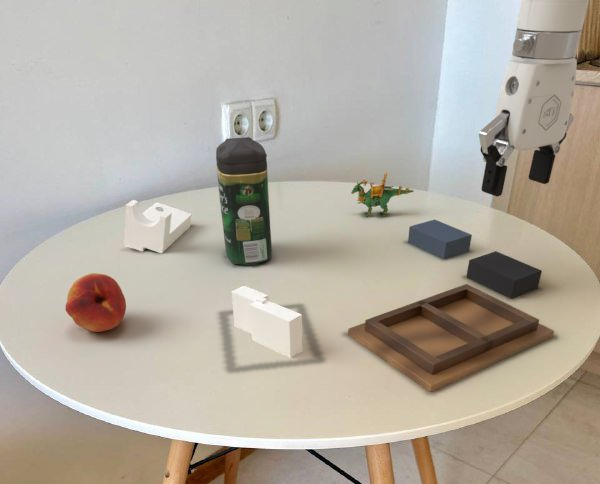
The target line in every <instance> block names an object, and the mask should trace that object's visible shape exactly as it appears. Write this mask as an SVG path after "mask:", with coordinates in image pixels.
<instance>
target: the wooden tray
mask: <svg viewBox="0 0 600 484" xmlns="http://www.w3.org/2000/svg"><path fill="white" fill-rule="evenodd" d="M347 330H348V331H347V335H348V336H349V337H350V338H352V339H353V340H355V341H356V342H357V343H359V344H361V345H362V346H363V347H365V348H366V349H367V350H369V351H371V353H374V355H376V356H378V357H379V358H381V359H382V360H383V361H385V362H387V363H388V364H389V365H391V366H392V367H394V368H395V369H396V370H398V371H399V372H401V373H402V374H404V375H405V376H406V377H408V378H409V379H410V380H412V381H413V382H415V383H416V384H418V385H419V386H421V387H422V388H423V389H425V390H426V391H428V392H429V393H432V392H434V391H436V390H439V389H441V388H443V387H446V386H447V385H450V384H452V383H454V382H456V381H459V380H461V379H464V378H466V377H468V376H470V375H473V374H475V373H477V372H478V371H481V370H483V369H485V368H488V367H490V366H492V365H494V364H496V363H499V362H500V361H504V360H506V359H508V358H510V357H512V356H514V355H516V354H518V353H521V352H523V351H525V350H527V349H530V348H532V347H534V346H536V345H539V344H541V343H543V342H545V341H548V340H549V339H552V338H553V337H554V334H555V330H553V329H551V328H549V327H547V326H546V325H543V324H541V323H540V319H539V318H537V317H534V316H533V315H531V314H529V313H527V312H525V311H522V310H520V309H518V308H517V307H514V305H513V306H512V305H510V304H508V303H507V302H504V301H503V300H500V299H498V298H497V297H495V296H492V295H490V294H488V293H486V292H484V291H482V290H480V289H477V288H476V287H474V286H472V285H470V284H468V283H465V284H463V285H459V286H456V287H454V288H451V289H448V290H446V291H443V292H439V293H437V294H434V295H431V296H428V297H426V298H423V299H420V300H418V301H417V300H416V301H415V302H412V303H409V304H406V305H403V306H401V307H398V308H395V309H392V310H389V311H386V312H383V313H381V314H379V315H378V314H377V315H376V316H372V317H370V318H367V319H365V321H364V322H363V323H361V324H358V325H355V326H352V327H349V328H348V329H347Z"/></svg>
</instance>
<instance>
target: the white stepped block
mask: <svg viewBox="0 0 600 484" xmlns="http://www.w3.org/2000/svg"><path fill="white" fill-rule="evenodd" d="M230 294H231V303H232V314H233V325H234V327H235V328H238V329H240V330H242V331H244V332H246V333H249V334H251V341H252V342H254V343H256V344H259V345H261V346H262V347H265V348H268V349H270V350H272V351H274V352H276V353H278V354H280V355H282V356H285V357H287V358H288V359H291V358H294V357H295V356H297V355H298V354H299V353H301V352H303V315H302V313H300V312H297V311H294V310H292V309H289V308H287V307H285V306H282V305H280V304H277V303H275V302H273V301H270V300H269V295H268V294H267V293H263V292H261V291H259V290H256V289H253V288H252V287H249V286H246V285H242V286H240V287H238V288H236V289H233V290H231V293H230Z"/></svg>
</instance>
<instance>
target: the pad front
mask: <svg viewBox="0 0 600 484" xmlns="http://www.w3.org/2000/svg"><path fill="white" fill-rule="evenodd" d="M472 237H473V235H472V234H471V233H469V232H466V231H465V230H461V229H459V228H456V227H454V226H452V225H449V224H447V223H444V222H442V221H440V220H437V219H431V220H427V221H424V222H421V223H417V224H413V225H410V226H409V227H408V238H407V243H408V244H410V245H412V246H414V247H417V248H418V249H421V250H422V251H424V252H427V253H429V254H431V255H433V256H435V257H438V258H440V259H441V260H447V259H449V258H453V257H456V256H459V255H462V254H465V253H469V252H470V249H471V242H472Z"/></svg>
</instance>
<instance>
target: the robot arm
mask: <svg viewBox="0 0 600 484" xmlns="http://www.w3.org/2000/svg"><path fill="white" fill-rule="evenodd" d="M589 3H590V0H521V2H520V8H519V9H520V10H519V14H518V21H517V24H516V31H515V36H514V42H513V46H512V53H511V58H510V59H511V60H509V62H508V64H507V68H506V70H505V74H504V77H503V81H502V84H501V87H500V91H499V94H498V99H497V103H496V107H495V113H494V116H493V119H492V120H491V121H490V122H489V123H488V124H486V125H485V126H484V127H483V128H481V130H479V133H478V139H479V145H480V153H481V154H482V156H483V158H482V161H483V162H484V163H485V167H484V171H483V172H484V173H483V177H482V183H481V191H482V192H483V193H485V194H489V195H491V196H494V197H501V196H502V195H503V192H504V186H505V181H506V177H507V171H508V165H505V164H506V162H507V161H508V159H509V158H510V157H511V155H512V153H513V152H514V150H517V151H527V150H532V149H534V151H533V154H532V159H531V162H530V163H531V164H530V169H529V173H528V179H529V180H531V181H533V182H536V183H540V184H543V185H546V184H549V183H550V180H551V175H552V172H553V167H554V165H555V164H554V163H555V160H556V155H557V154H558V153H559V152H560V149H561V144H562V143H563V142H564V140H565V139H566V138H567V132H568V131H569V130H570V129H569V128H570V127H571V126H572V124H573V121H574V118H575V117H574V115H573V114H572V113H571V110H572V105H573V101H574V94H575V87H576V79H577V70H578V69H577V66H578V65H577V64H578V59H577V58H576V56H577V51H578V49H579V43H580V39H581V37H582V32H583V27H584V23H585V19H586V15H587V10H588V7H589ZM500 148H503V149H502V150H501V152H500V151H499V150H500Z"/></svg>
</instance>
